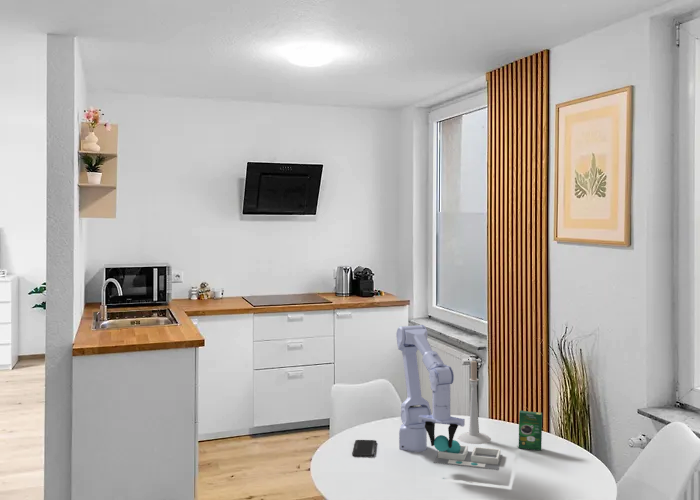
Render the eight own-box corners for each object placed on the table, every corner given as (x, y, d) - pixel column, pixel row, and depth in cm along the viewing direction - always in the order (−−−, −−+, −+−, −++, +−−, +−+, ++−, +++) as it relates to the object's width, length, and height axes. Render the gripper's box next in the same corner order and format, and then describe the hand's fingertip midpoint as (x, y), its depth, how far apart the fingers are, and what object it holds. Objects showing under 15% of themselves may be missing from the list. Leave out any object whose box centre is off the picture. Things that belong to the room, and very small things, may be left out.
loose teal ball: (432, 452, 200) (432, 437, 200) (435, 447, 205) (435, 432, 205) (448, 454, 199) (447, 438, 198) (450, 449, 203) (450, 433, 203)
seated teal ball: (444, 456, 212) (444, 442, 212) (447, 451, 217) (447, 437, 217) (459, 458, 210) (459, 443, 210) (461, 453, 215) (461, 438, 215)
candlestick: (496, 439, 232) (496, 358, 231) (484, 449, 221) (484, 365, 220) (464, 433, 239) (464, 355, 238) (451, 443, 228) (450, 361, 227)
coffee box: (542, 448, 222) (542, 411, 221) (542, 451, 219) (542, 414, 219) (518, 446, 224) (518, 409, 224) (518, 448, 222) (518, 412, 221)
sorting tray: (433, 465, 207) (433, 456, 207) (441, 451, 220) (441, 442, 220) (498, 473, 200) (498, 463, 200) (502, 457, 213) (502, 449, 213)
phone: (376, 440, 230) (374, 454, 215) (376, 443, 230) (374, 458, 215) (355, 439, 231) (351, 454, 216) (355, 442, 231) (351, 457, 216)
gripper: (416, 405, 200) (416, 447, 200) (462, 409, 195) (462, 452, 195) (421, 399, 206) (421, 440, 207) (465, 403, 202) (465, 445, 202)
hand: (441, 445), depth 202 cm, fingers closed on loose teal ball, 5 cm apart
